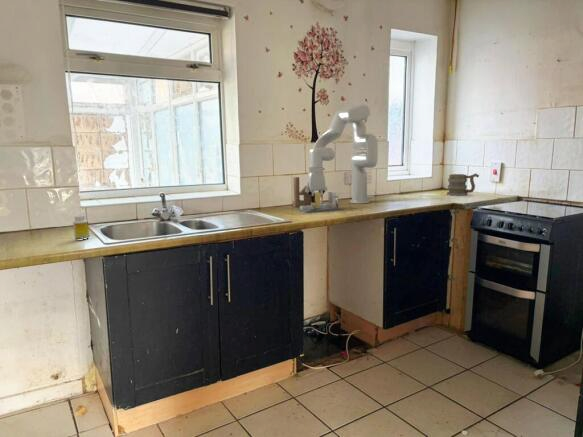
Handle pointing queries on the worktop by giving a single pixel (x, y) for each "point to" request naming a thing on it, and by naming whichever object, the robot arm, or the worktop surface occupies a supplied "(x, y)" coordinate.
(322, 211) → the bolt plate
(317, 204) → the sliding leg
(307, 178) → the robot arm
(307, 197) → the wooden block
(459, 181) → the tankard
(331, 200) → the trammel beam
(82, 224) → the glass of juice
